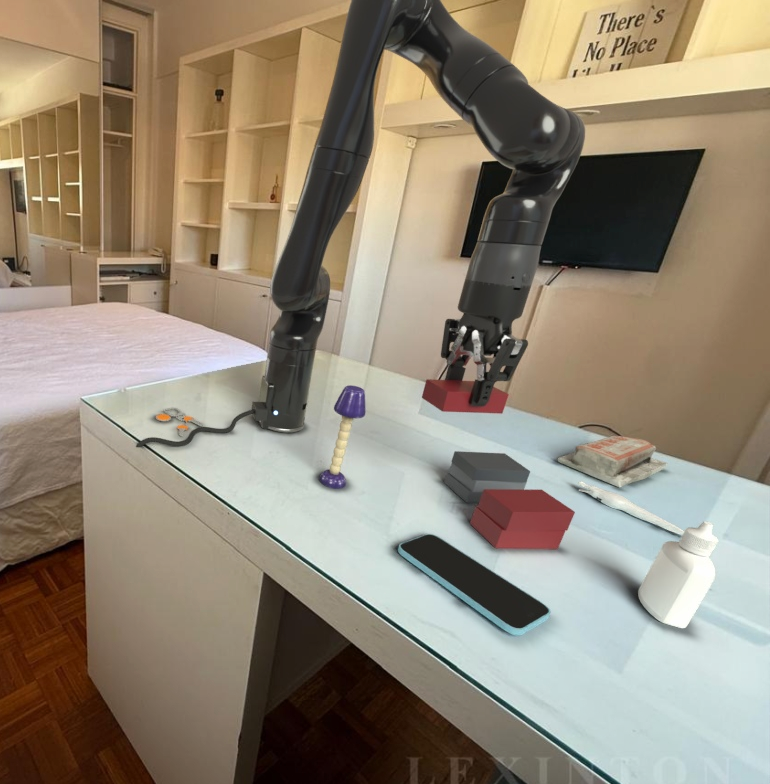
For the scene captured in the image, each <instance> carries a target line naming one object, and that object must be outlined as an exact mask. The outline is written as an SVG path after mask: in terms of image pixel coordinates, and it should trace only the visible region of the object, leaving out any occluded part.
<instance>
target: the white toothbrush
mask: <svg viewBox="0 0 770 784" xmlns="http://www.w3.org/2000/svg"><path fill="white" fill-rule="evenodd" d="M577 484H578V485H580V487H583V488H585V489H578V491H579V492H583V493H586V494H587V495H590V496H591V497H592V498H595V499H596V500H598V501H599V502H601V503H602V504H604V505H606V506H607V507H610V508H612V509H616V510H620V511H623V512H625V513H627V514H629V515H631V516H633V517H635V518H637V519H640V520H642V521H645V522H648V523H651V524H653V525H655V526H658V527H660V528H662V529H665V530H667V531H669V532H672V533H674V534H677V535H680V536H682V535H683V533H684V532H685V530H683V529H682V528H681V527H678V526H677V525H675V524H673V523H671V522H669V521H667V520H666V519H664V518H661V517H660V516H658V515H656V514H653V513H652V512H650V511H648V510H646V509H644V508H642V507H640V506H638V505H637V504H635V503H633V502H631V500H629V499H628V498H626V497H625V496H623V495H621V494H618V493H615V492H612V491H608V490H604V489H602V488H600V487H597V486H595V485H590V484H588V483H585V482H584V481H582V480H579V481H577Z"/></svg>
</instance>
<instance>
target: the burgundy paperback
mask: <svg viewBox="0 0 770 784" xmlns="http://www.w3.org/2000/svg"><path fill="white" fill-rule="evenodd" d="M474 381H475V380H462V381H457V380H445V379H431V378H430V379H428V378H427V379H426V380H425V383H424V387H423V391H422V395H421V398H422V399H423V400H425V401H426V402H427V403H428V404H430V405H432V406H433V407H435V408H436V409H438V410H439V411H441V412H446V413H449V412H450V413H476V414H499V415H500V414H501V415H502V414H504V410H505V407H506V404H507V402H508V398H509V395H510V394H509V393H507V392H505V391H503V390H501V389H500V388H497V387H495V386H493V389H492V393H491V396H490V399H489V402H488V403H487V404H486V405H485V406H483V407H481V406H472V405H471V404H469V399H470V395H471V392H472V388H473V385H474Z"/></svg>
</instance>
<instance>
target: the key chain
mask: <svg viewBox="0 0 770 784" xmlns="http://www.w3.org/2000/svg"><path fill="white" fill-rule="evenodd" d="M169 410H176V411H177V412H178V413H176V414H174V413H173V414H172V413H170V412H168V411H169ZM162 411H163V412H164V413H160V414H157V415H155V420H157V421H159V422H169V421H171V420H172V417H175V419H176V420H179V421H183V422H185V424H180V425H178V426H177V430H178V436H179V437H183V436H184V433H185V431H188V429H189V427H188V426H187V425H188V422H190V423H193V424H195V425H197V426H199V427H203V423H200V422H199V421H196V419H195V418H194V417H192V416H189V415H188V416H187V415H186V413H185V412H182V411H181V410H180V409H178V408H177V407H168V408H164V409H163V410H162Z"/></svg>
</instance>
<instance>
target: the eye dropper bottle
mask: <svg viewBox="0 0 770 784" xmlns="http://www.w3.org/2000/svg"><path fill="white" fill-rule="evenodd" d="M713 528H714V524H713V523H711V522H709V521H705V520H704V521H702V522H701V524H699V526H698V527H693V526H690V527H686V528H685V530H684V531H685V532H684V533H683V535H681V537H680V539H679V541H674V540H668V541H665V542H664V543H663V544H662V546H661V547H660V548H659V551H658V552H657V554H656V556H655V557H654V560H653V561H652V564H651V565H650V567H649V569H648V571H647V573H646V574H645V577H644V578H643V580H642V583H641V584H640V585H639V588H638V590H637V594H638V595H637V596H638V599H639V601H640V603H641V605H642V606H643V608H644V609H645V610H646V611H647V612H648V613H649V614H650V615H651V616H652V617H653V618H655V619H656V620H657V621H659V622H660V623H662V624H664V625H668V626H672V627H674V628H675V627H676V628H679V629H685V628H687V627H688V625H689V623H690V622H691V620H692V619H693V617H694V615H695V614H696V612H697V610H698V608H699V607H700V605H701V603H702V602H703V600H704V598H705V596H706V595H707V594H708V592H709V590H710V588H711V586H712V584H713V582H714V581H715V578H716V568H715V565H714V563H713V560H712V559H711V557H710V556H711V555H712V553H713V551H714V549H715V548H716V546H717V545H718V544H719V540H720V539H719V538H718V537H717V536H715V534H713Z"/></svg>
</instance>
